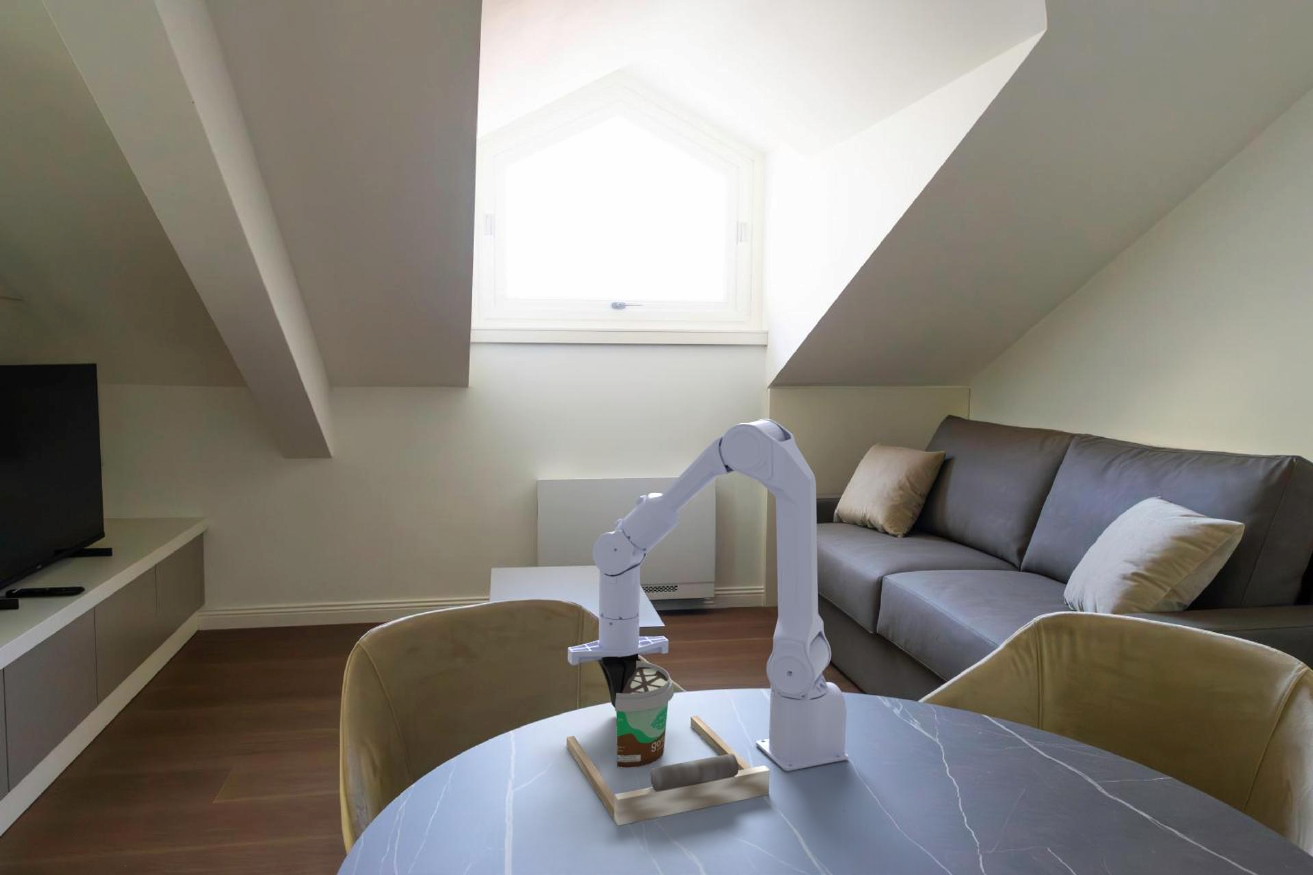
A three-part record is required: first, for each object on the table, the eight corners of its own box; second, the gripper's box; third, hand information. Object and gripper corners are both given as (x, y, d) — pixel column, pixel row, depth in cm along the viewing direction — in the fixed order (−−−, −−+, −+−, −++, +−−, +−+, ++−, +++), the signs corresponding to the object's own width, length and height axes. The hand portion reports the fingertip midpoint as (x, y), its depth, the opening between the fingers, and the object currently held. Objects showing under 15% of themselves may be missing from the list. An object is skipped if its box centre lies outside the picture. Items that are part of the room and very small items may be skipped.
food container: (662, 778, 104) (664, 699, 103) (614, 772, 105) (615, 694, 104) (680, 734, 116) (681, 663, 115) (636, 729, 117) (637, 659, 116)
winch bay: (697, 723, 119) (697, 686, 118) (771, 796, 100) (772, 752, 99) (566, 745, 112) (566, 706, 111) (619, 828, 93) (620, 781, 92)
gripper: (656, 600, 126) (654, 688, 127) (562, 610, 121) (561, 702, 122) (674, 614, 120) (673, 706, 121) (576, 625, 114) (575, 722, 116)
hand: (618, 705), depth 121 cm, fingers closed
